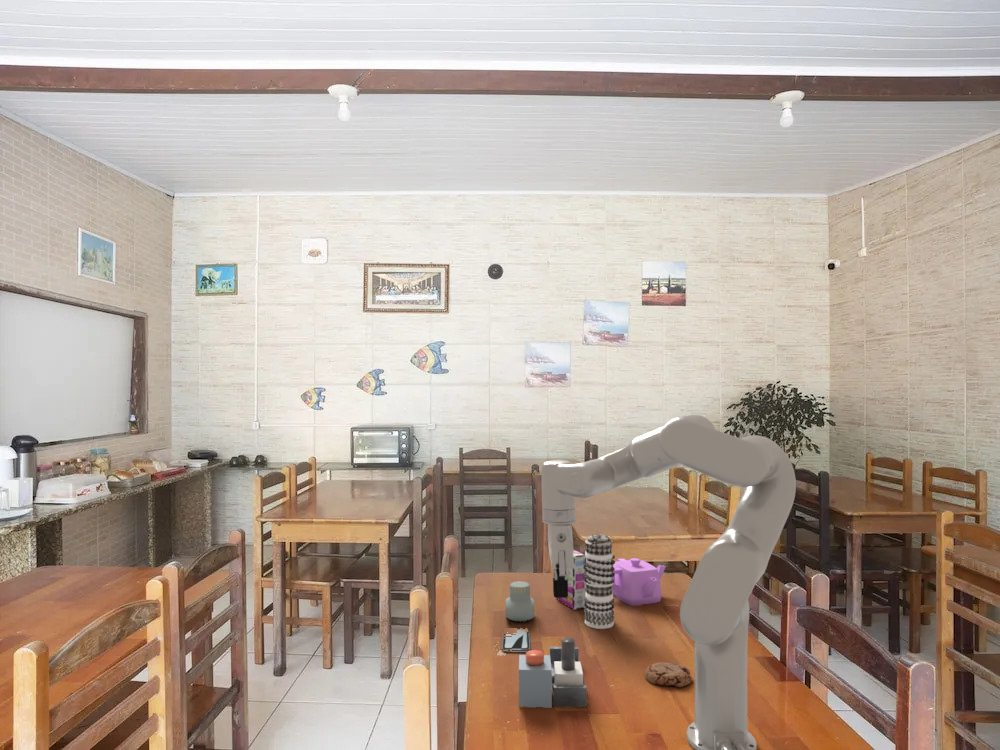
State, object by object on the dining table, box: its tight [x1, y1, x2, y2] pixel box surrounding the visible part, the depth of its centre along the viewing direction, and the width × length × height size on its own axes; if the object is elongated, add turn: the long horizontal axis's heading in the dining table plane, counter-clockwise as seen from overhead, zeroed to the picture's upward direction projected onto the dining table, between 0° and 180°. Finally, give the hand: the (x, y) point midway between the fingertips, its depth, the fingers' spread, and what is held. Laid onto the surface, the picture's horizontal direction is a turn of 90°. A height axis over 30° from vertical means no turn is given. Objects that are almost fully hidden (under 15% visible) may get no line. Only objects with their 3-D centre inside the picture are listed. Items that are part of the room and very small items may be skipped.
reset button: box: [525, 649, 545, 665], centre depth 131 cm, size 4×4×6 cm
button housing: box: [518, 654, 553, 709], centre depth 131 cm, size 7×7×8 cm
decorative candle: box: [583, 533, 616, 630], centre depth 173 cm, size 9×9×25 cm
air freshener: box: [505, 580, 535, 623], centre depth 176 cm, size 11×8×10 cm
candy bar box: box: [556, 549, 586, 611], centre depth 188 cm, size 11×5×16 cm, turn 25°
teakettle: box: [612, 557, 666, 606], centre depth 193 cm, size 17×17×12 cm
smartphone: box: [501, 628, 531, 651], centre depth 161 cm, size 7×1×15 cm
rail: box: [549, 646, 588, 708], centre depth 138 cm, size 20×7×4 cm, turn 178°
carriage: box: [552, 637, 586, 694], centre depth 133 cm, size 6×7×10 cm
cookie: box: [645, 662, 693, 688], centre depth 140 cm, size 10×11×3 cm
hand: (560, 596), depth 136 cm, fingers closed
